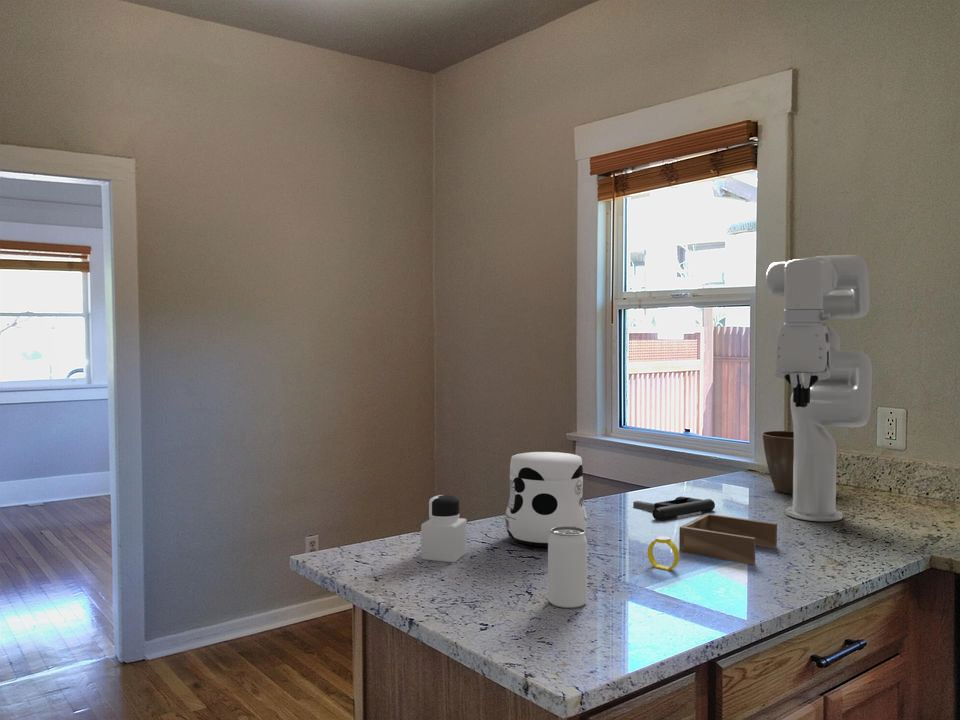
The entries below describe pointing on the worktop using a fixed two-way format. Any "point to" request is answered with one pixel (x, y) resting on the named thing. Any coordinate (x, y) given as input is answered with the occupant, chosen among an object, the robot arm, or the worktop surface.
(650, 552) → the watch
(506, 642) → the worktop surface
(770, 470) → the plant pot
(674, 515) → the door handle
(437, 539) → the medicine bottle
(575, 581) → the can
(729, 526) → the box
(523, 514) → the milk container
